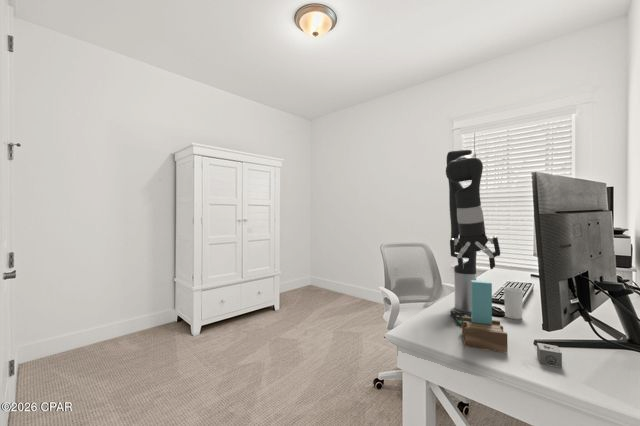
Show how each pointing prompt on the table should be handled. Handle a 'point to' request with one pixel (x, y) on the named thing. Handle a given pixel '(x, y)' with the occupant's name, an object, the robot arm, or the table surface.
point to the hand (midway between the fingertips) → (476, 268)
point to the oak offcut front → (484, 328)
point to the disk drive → (459, 316)
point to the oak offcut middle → (483, 326)
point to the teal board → (481, 302)
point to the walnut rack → (484, 337)
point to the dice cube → (549, 355)
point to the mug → (513, 302)
